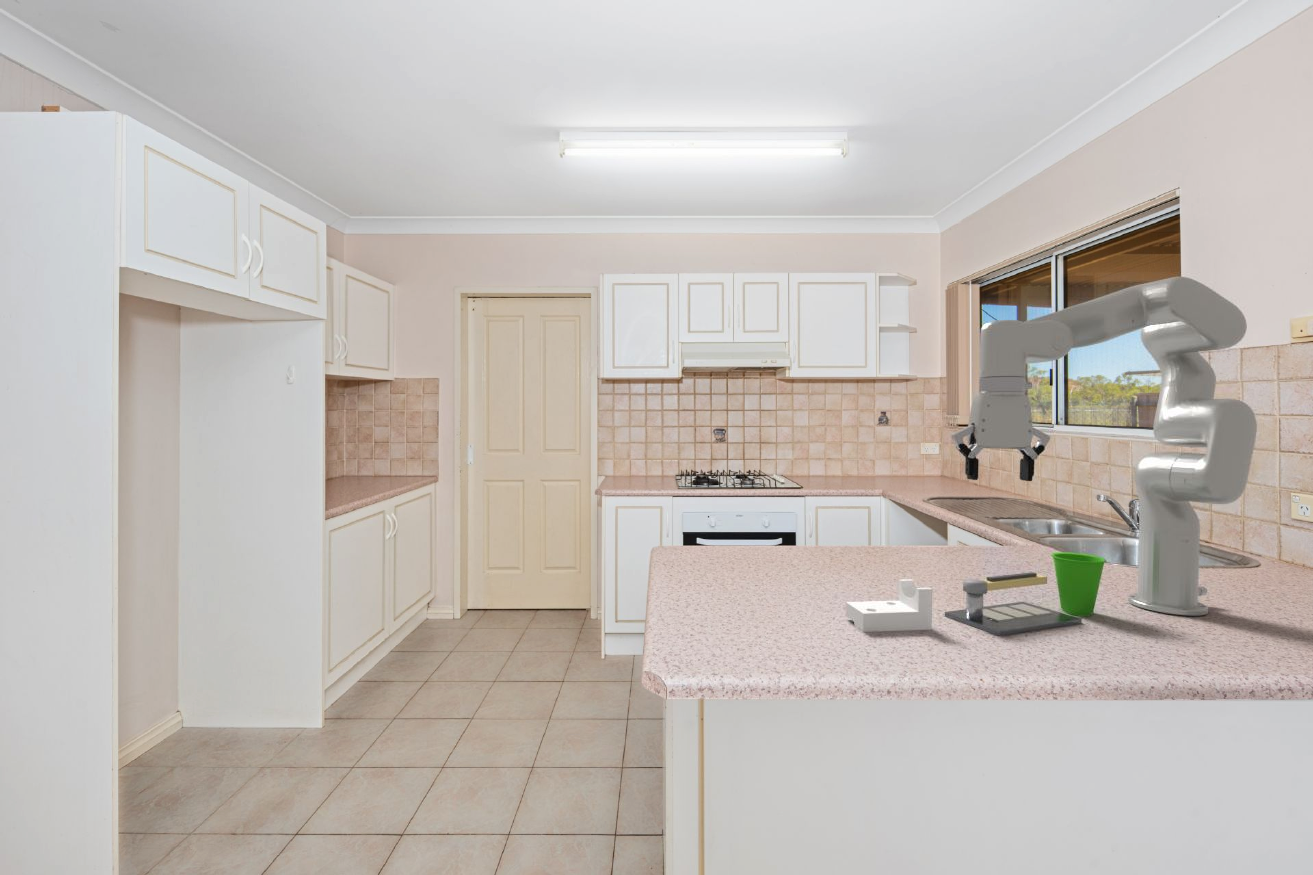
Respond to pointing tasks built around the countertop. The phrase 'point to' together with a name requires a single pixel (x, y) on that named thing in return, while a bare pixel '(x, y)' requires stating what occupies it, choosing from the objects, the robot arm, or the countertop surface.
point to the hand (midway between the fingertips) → (999, 480)
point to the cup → (1078, 581)
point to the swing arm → (1003, 582)
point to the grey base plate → (1009, 616)
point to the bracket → (894, 610)
